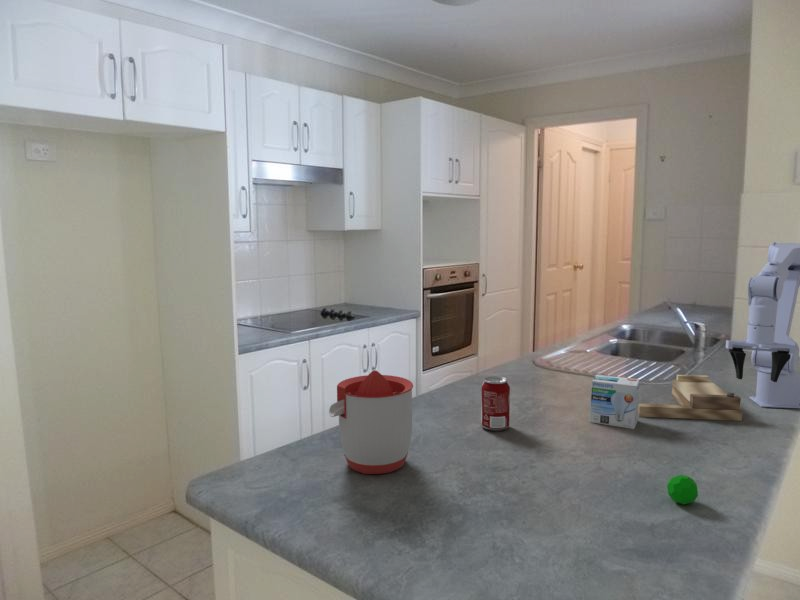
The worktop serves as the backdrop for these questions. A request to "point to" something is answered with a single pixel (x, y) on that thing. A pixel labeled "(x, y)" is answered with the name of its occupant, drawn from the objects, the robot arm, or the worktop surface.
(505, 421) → the soda can
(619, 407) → the light bulb box
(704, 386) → the lid
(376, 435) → the citrus juicer
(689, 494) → the polyhedron
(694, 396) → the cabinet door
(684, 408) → the brown piece
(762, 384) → the robot arm
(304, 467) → the worktop surface
